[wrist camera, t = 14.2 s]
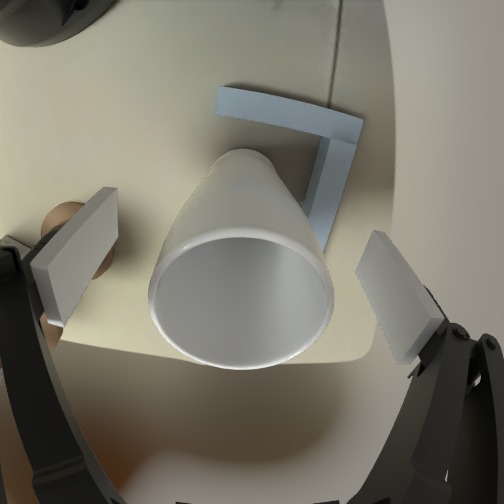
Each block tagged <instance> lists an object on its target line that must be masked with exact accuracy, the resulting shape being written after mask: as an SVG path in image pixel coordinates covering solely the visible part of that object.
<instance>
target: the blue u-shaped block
mask: <svg viewBox="0 0 504 504" xmlns="http://www.w3.org/2000/svg"><path fill="white" fill-rule="evenodd" d="M214 115H219V116H226V117H232V118H239V119H244V120H250V121H256V122H261V123H266V124H271V125H276V126H281V127H286V128H290V129H295V130H299V131H303V132H307V133H311V134H315V135H319V136H321V139H320V143H319V147H318V151H317V155H316V159H315V162H314V166H313V170H312V174H311V177H310V181H309V185H308V188H307V192H306V195H305V199H304V203H303V206H302V210H303V212H304V213H305V215H306V217H307V218H308V220H309V222H310V224H311V226H312V228H313V230H314V232H315V234H316V237H317V239H318V241H319V244H320V246H321V249H322V252H323V250H324V248H325V245H326V242H327V239H328V236H329V233H330V230H331V227H332V224H333V221H334V218H335V215H336V212H337V209H338V206H339V203H340V200H341V197H342V194H343V190H344V187H345V184H346V181H347V178H348V174H349V171H350V168H351V164H352V161H353V157H354V154H355V151H356V147H357V144H358V140H359V136H360V133H361V129H362V125H363V122H364V120H363V119H360V118H357V117H354V116H351V115H348V114H344V113H341V112H338V111H334V110H331V109H327V108H324V107H320V106H316V105H313V104H309V103H305V102H301V101H297V100H292V99H288V98H283V97H279V96H274V95H269V94H264V93H259V92H254V91H248V90H242V89H236V88H230V87H223V86H219V91H218V96H217V102H216V107H215V113H214Z"/></svg>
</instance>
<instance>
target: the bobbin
mask: <svg viewBox="0 0 504 504" xmlns="http://www.w3.org/2000/svg"><path fill="white" fill-rule="evenodd" d="M83 206H84V205H82V204H79V203H72V202H69V203H63V204H61V205H58V206H57V207H56V208H54V209H53V210H52V211H51V212H50V213H49V214H48V215H47V216H46V217H45V219H44V221H43V224H42V228H41V239H42V238H43V237H44V236H45V235H46V234H48V233H50V232H52V231H53V230H60V229H61V228H62V227H63V226H64V225H65V224H66V223H67V222H68V221H69V220H70V219H71V218H72V217H73V216H74V215H75V214H76V213H77V212H78V211H79V210H80V209H81V208H82V207H83ZM38 243H39V242H38ZM34 247H35V246H34ZM34 247H33V248H34ZM33 248H32V249H33ZM32 249H31V250H32ZM31 250H30V251H31ZM113 250H114V247H113V246H112V247H111V249H110V250H109V252H108V253H107V255H106V257H105V258H104V260H103V261H102V263H101V264H100V266H99V268H98V269H97V271H96V273H95V274H94V276H93V277H92V279H91V280H93V279H96V278H98V277H99V276H101V275H102V274H103V273H104V272H105V270H106V269H107V267H108V266H109V264H110V262H111V260H112V257H113ZM30 251H29V252H30ZM29 252H28V253H29ZM28 253H27V254H28ZM27 254H26V255H27ZM26 255H25V256H26ZM25 256H24V257H23V258H22V260H23V259H24V258H25ZM22 260H21V261H22ZM40 321H41V324H42V327H43V330H44V334H45V337H46V341H47V344H48V347H49V350H52V349H53V348H55V346H56V345H57V343H58V341H59V339H60V337H61V335H62V333H63V327H60V326H57V325H53V324H50V323H48V321H47V318H46V315H45V313H43V315H42V316H41V318H40Z"/></svg>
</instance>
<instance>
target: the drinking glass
mask: <svg viewBox="0 0 504 504" xmlns="http://www.w3.org/2000/svg"><path fill="white" fill-rule="evenodd" d="M148 304H149V310H150V313H151V317H152V319H153V321H154V323H155V325H156V327H157V329H158V330H159V332H160V333H161V334H162V336H163V337H164V338H165V339H166V340H167V341H168V342H169V343H170V344H171V345H172V346H173V347H175V348H176V349H177V350H179V351H180V352H182V353H183V354H185V355H186V356H188V357H190V358H192V359H194V360H196V361H199V362H201V363H204V364H207V365H211V366H215V367H219V368H225V369H237V370H247V369H258V368H264V367H269V366H273V365H276V364H279V363H282V362H285V361H287V360H289V359H291V358H293V357H295V356H297V355H299V354H300V353H302V352H303V351H305V350H306V349H307V348H309V347H310V346H311V345H312V344H313V343H314V342H315V341H316V340H317V339H318V338H319V337H320V336H321V334H322V333H323V332H324V330H325V329H326V327H327V325H328V323H329V321H330V319H331V316H332V313H333V308H334V288H333V283H332V280H331V277H330V274H329V270H328V267H327V264H326V261H325V258H324V255H323V252H322V249H321V246H320V244H319V241H318V239H317V237H316V234H315V232H314V230H313V228H312V226H311V224H310V222H309V220H308V218H307V217H306V215H305V213H304V212H303V210H302V209H301V207H300V205H299V204H298V202H297V201H296V200H295V198H294V197H293V195H292V194H291V193H290V191H289V190H288V188H287V187H286V186H285V184H284V183H283V181H282V180H281V178H280V177H279V176H278V174H277V172H276V170H275V168H274V166H273V164H272V163H271V162H270V160H269V159H268V158H267V157H265V156H264V155H263V154H261V153H259V152H257V151H254V150H251V149H235V150H231V151H228V152H226V153H224V154H223V155H221V156H220V157H219V158H218V159H217V160H216V161H215V162H214V163H213V165H212V167H211V168H210V171H209V173H208V174H207V175H206V177H205V178H204V179H203V181H202V182H201V183H200V185H199V186H198V187H197V189H196V190H195V191H194V193H193V194H192V195H191V197H190V198H189V199H188V201H187V202H186V203H185V205H184V206H183V208H182V209H181V210H180V212H179V214H178V215H177V217H176V219H175V221H174V222H173V224H172V226H171V228H170V230H169V232H168V234H167V236H166V239H165V241H164V243H163V246H162V248H161V251H160V254H159V256H158V259H157V262H156V265H155V268H154V271H153V275H152V277H151V280H150V284H149V289H148Z"/></svg>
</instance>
